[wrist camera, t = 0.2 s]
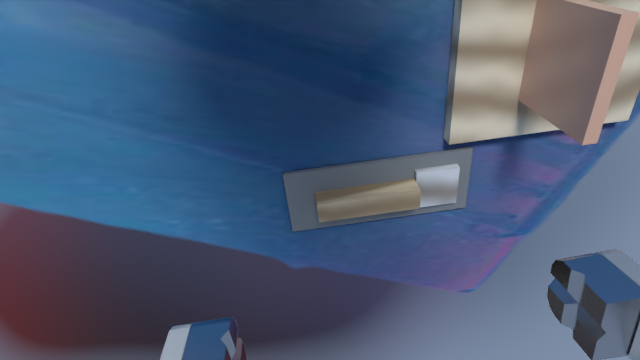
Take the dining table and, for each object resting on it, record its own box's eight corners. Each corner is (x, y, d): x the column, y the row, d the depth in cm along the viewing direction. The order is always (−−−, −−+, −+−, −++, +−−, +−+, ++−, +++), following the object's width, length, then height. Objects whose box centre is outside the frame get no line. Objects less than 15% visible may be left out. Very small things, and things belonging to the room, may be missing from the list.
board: (459, -52, 41) (467, -52, 39) (683, -80, 41) (700, -80, 40) (443, 137, 53) (449, 144, 51) (617, 114, 53) (628, 120, 52)
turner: (313, 183, 54) (315, 195, 51) (457, 163, 54) (466, 174, 52) (318, 217, 57) (320, 230, 54) (453, 198, 58) (461, 210, 55)
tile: (538, -7, 42) (621, 14, 32) (552, -8, 42) (640, 12, 32) (518, 100, 48) (581, 145, 38) (530, 98, 48) (597, 142, 38)
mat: (282, 172, 53) (282, 174, 53) (471, 146, 54) (472, 148, 53) (292, 229, 58) (292, 231, 58) (463, 205, 59) (465, 207, 59)
